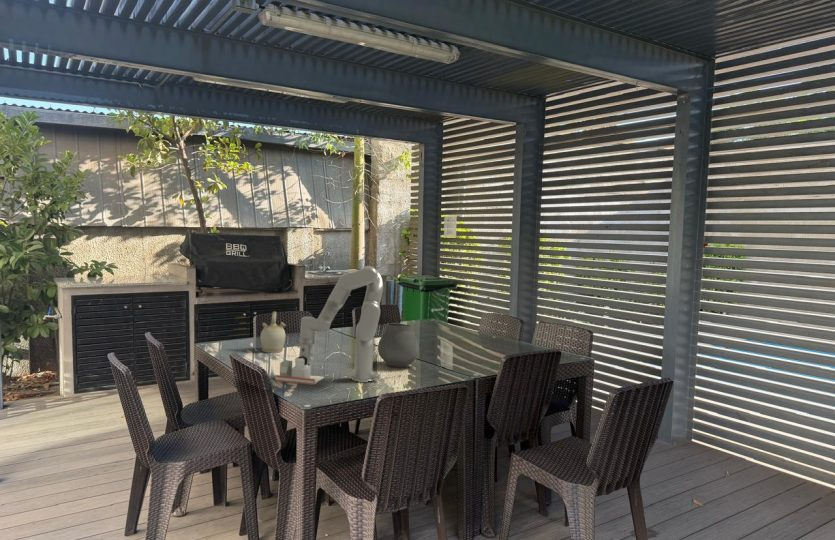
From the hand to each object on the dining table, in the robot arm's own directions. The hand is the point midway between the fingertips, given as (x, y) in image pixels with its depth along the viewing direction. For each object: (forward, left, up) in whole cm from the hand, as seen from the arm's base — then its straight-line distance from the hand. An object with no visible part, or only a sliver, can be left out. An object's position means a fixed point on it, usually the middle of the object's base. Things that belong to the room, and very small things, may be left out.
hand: (305, 375), depth 298 cm
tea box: (+8, +5, -1) cm, 10 cm away
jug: (+42, -55, -2) cm, 69 cm away
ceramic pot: (-40, -47, -2) cm, 61 cm away
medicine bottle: (0, +6, -1) cm, 6 cm away
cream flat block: (+1, +2, -2) cm, 3 cm away
